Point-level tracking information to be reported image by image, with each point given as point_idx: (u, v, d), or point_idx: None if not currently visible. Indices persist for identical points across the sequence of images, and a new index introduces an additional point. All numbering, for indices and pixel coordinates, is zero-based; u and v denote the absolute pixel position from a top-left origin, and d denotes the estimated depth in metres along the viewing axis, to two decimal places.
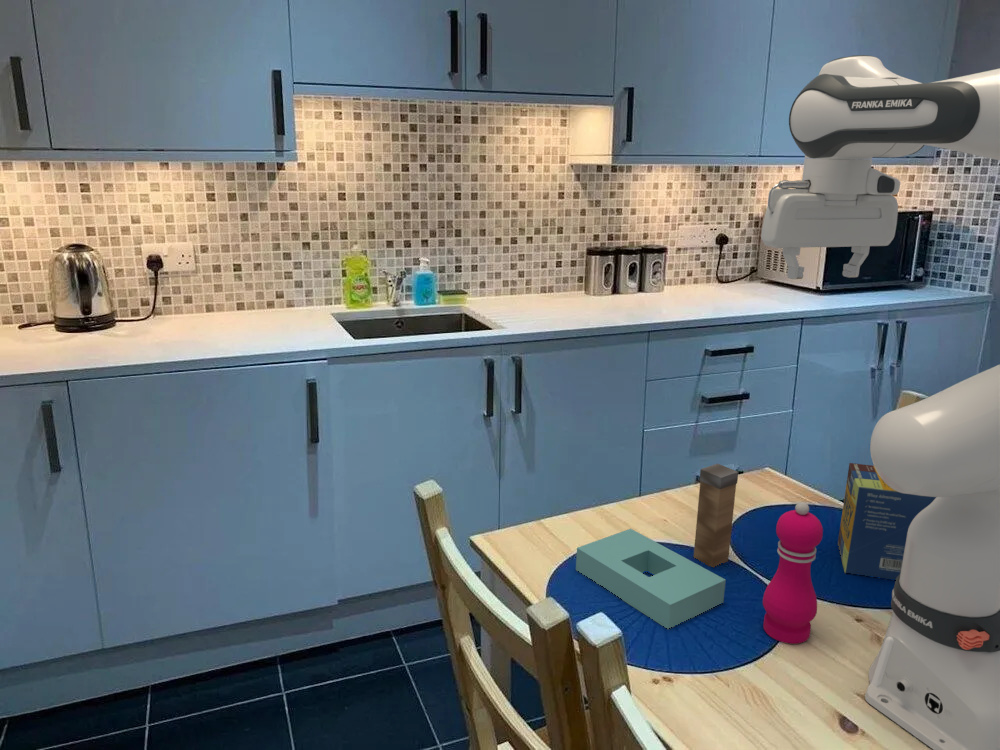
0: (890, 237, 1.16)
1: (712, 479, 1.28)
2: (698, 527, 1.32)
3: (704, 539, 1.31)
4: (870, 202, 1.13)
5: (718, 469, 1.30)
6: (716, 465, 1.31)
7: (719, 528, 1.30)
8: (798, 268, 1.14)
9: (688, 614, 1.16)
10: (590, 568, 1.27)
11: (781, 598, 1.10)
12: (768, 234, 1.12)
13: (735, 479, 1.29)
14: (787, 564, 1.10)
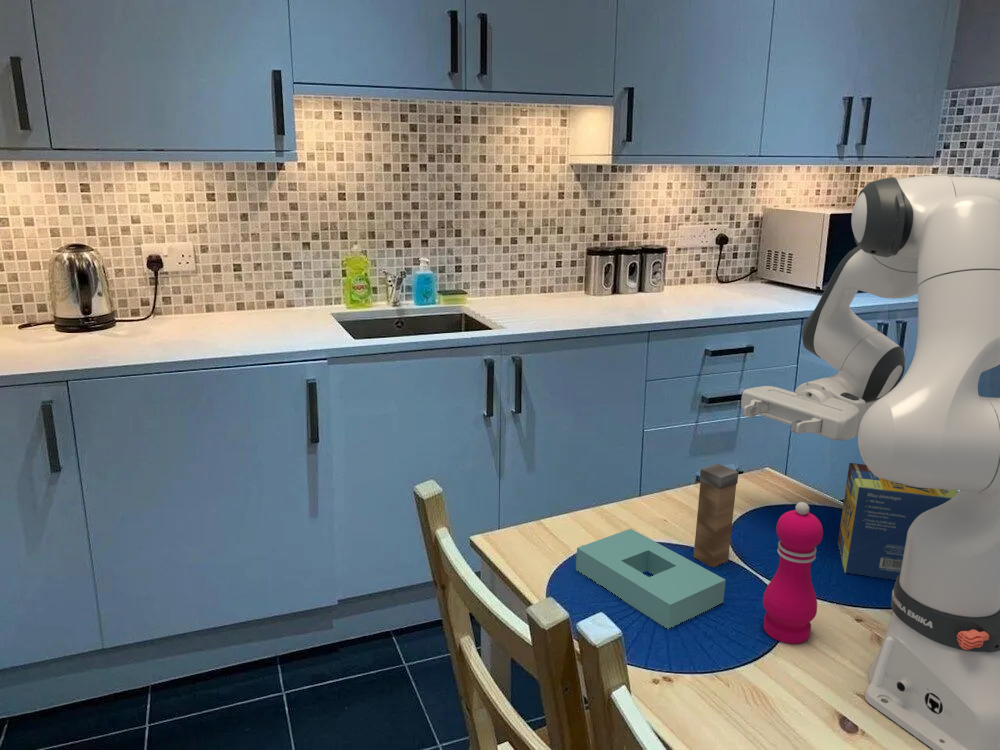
0: (841, 417, 1.30)
1: (712, 479, 1.28)
2: (698, 527, 1.32)
3: (704, 539, 1.31)
4: (833, 401, 1.36)
5: (718, 469, 1.30)
6: (716, 465, 1.31)
7: (719, 528, 1.30)
8: (752, 405, 1.39)
9: (688, 614, 1.16)
10: (590, 568, 1.27)
11: (781, 598, 1.10)
12: None
13: (735, 479, 1.29)
14: (787, 564, 1.10)
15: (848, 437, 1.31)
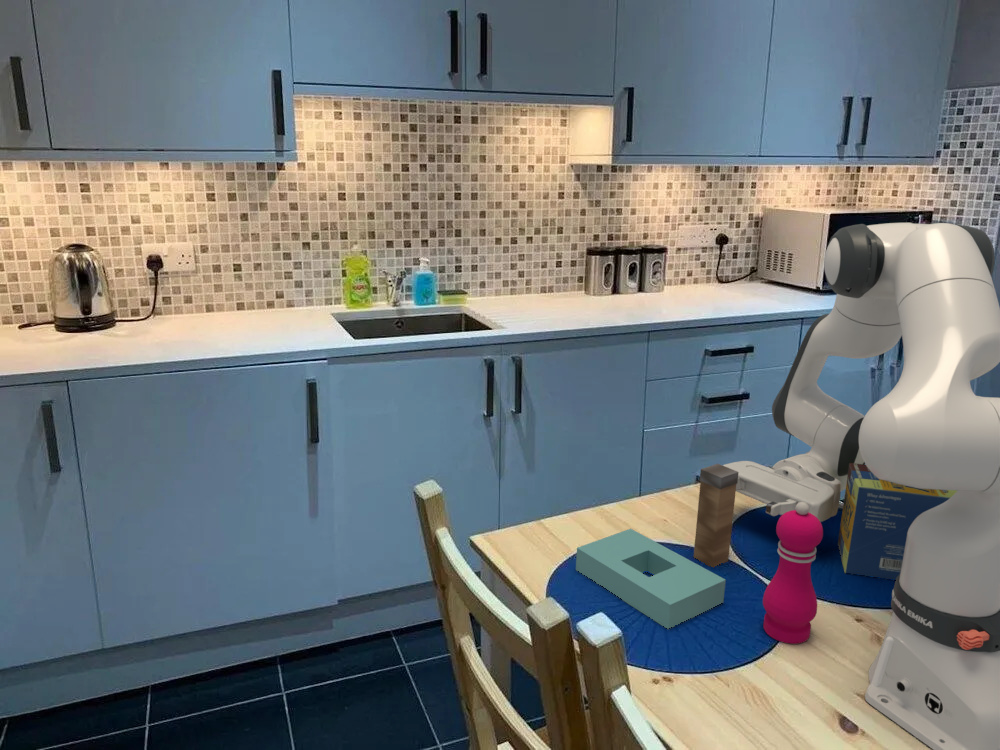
0: (816, 500, 1.31)
1: (712, 479, 1.28)
2: (698, 527, 1.32)
3: (704, 539, 1.31)
4: (809, 481, 1.37)
5: (719, 469, 1.30)
6: (716, 465, 1.31)
7: (719, 528, 1.30)
8: None
9: (688, 614, 1.16)
10: (590, 568, 1.27)
11: (781, 598, 1.10)
12: None
13: (735, 479, 1.29)
14: (787, 564, 1.10)
15: (823, 519, 1.32)
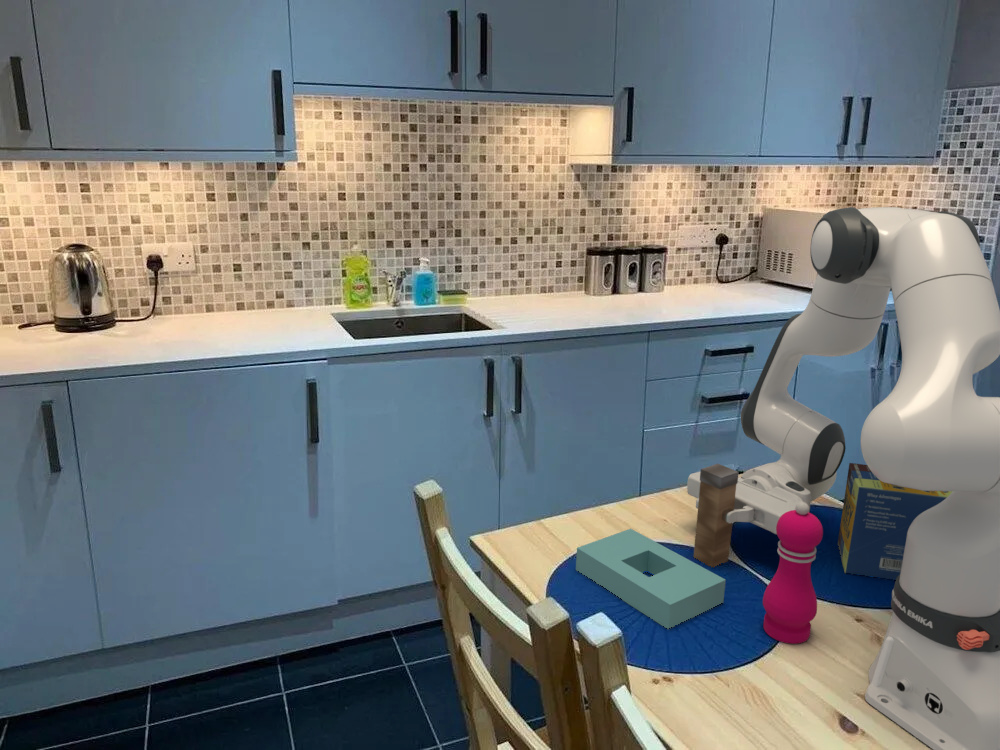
0: (783, 512, 1.26)
1: (712, 479, 1.28)
2: (698, 527, 1.32)
3: (704, 539, 1.31)
4: (778, 491, 1.33)
5: (719, 469, 1.30)
6: (716, 465, 1.31)
7: (719, 528, 1.30)
8: None
9: (688, 614, 1.16)
10: (590, 568, 1.27)
11: (781, 597, 1.10)
12: None
13: (735, 479, 1.29)
14: (787, 564, 1.10)
15: None
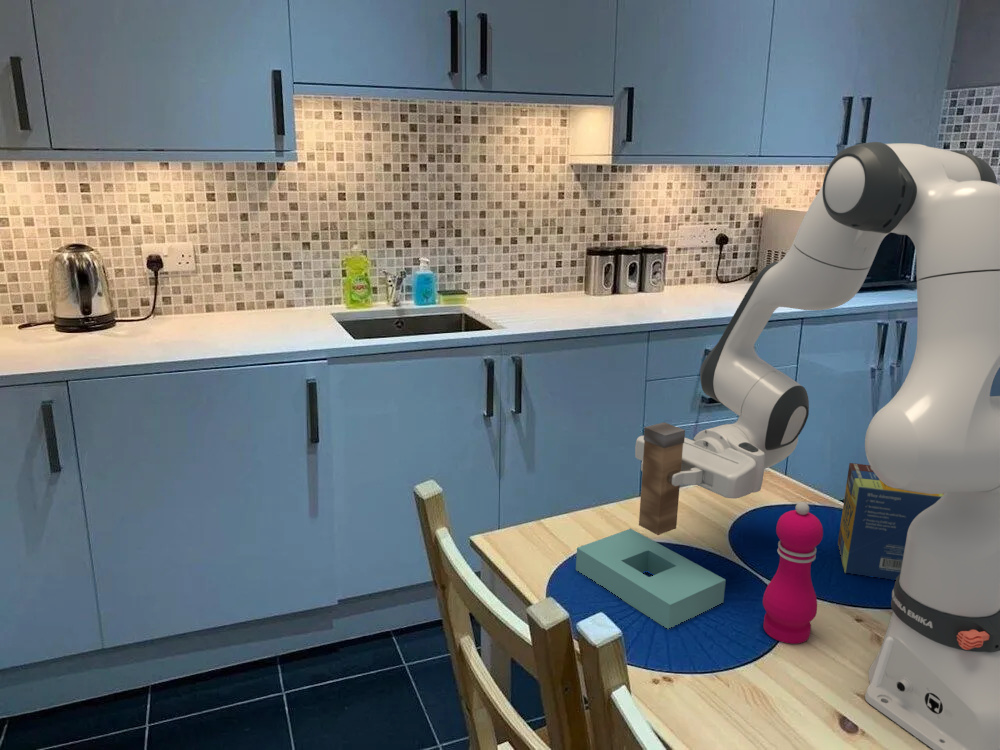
0: (733, 473, 1.16)
1: (656, 438, 1.18)
2: (643, 491, 1.22)
3: (649, 503, 1.21)
4: (730, 452, 1.22)
5: (664, 427, 1.19)
6: (662, 423, 1.21)
7: (665, 492, 1.19)
8: None
9: (688, 614, 1.16)
10: (590, 568, 1.27)
11: (781, 598, 1.10)
12: None
13: (682, 438, 1.18)
14: (787, 564, 1.10)
15: (742, 494, 1.17)
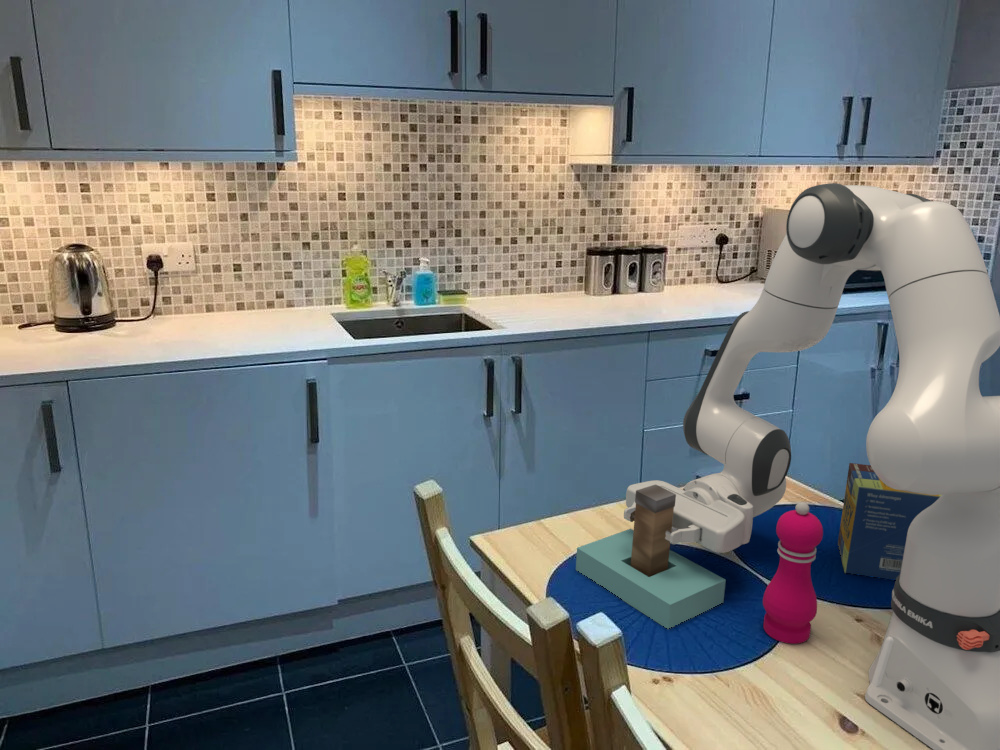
0: (721, 528, 1.18)
1: (647, 502, 1.19)
2: (634, 552, 1.24)
3: (639, 564, 1.23)
4: (719, 504, 1.24)
5: (655, 491, 1.21)
6: (653, 486, 1.23)
7: (655, 554, 1.21)
8: (633, 507, 1.26)
9: (688, 614, 1.16)
10: (590, 568, 1.27)
11: (781, 598, 1.10)
12: None
13: (672, 502, 1.20)
14: (787, 564, 1.10)
15: (730, 548, 1.19)
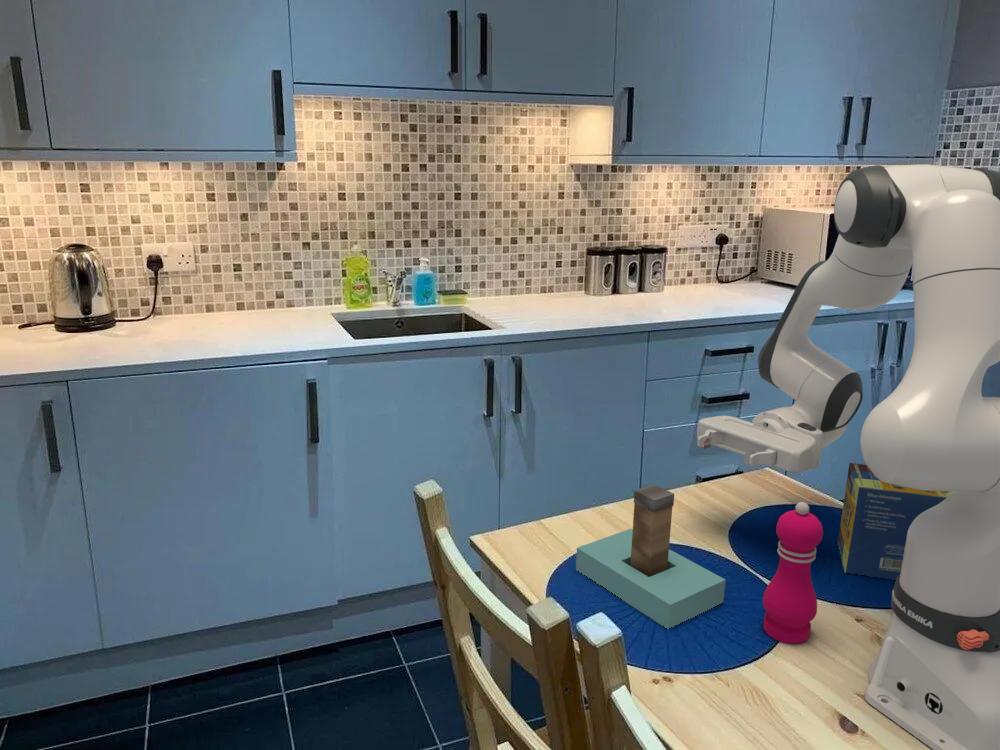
0: (796, 449, 1.25)
1: (646, 502, 1.20)
2: (633, 552, 1.24)
3: (639, 564, 1.23)
4: (789, 431, 1.31)
5: (653, 490, 1.21)
6: (652, 486, 1.23)
7: (654, 554, 1.21)
8: (706, 435, 1.34)
9: (688, 614, 1.16)
10: (590, 568, 1.27)
11: (781, 598, 1.10)
12: None
13: (671, 501, 1.20)
14: (787, 564, 1.10)
15: (804, 469, 1.26)
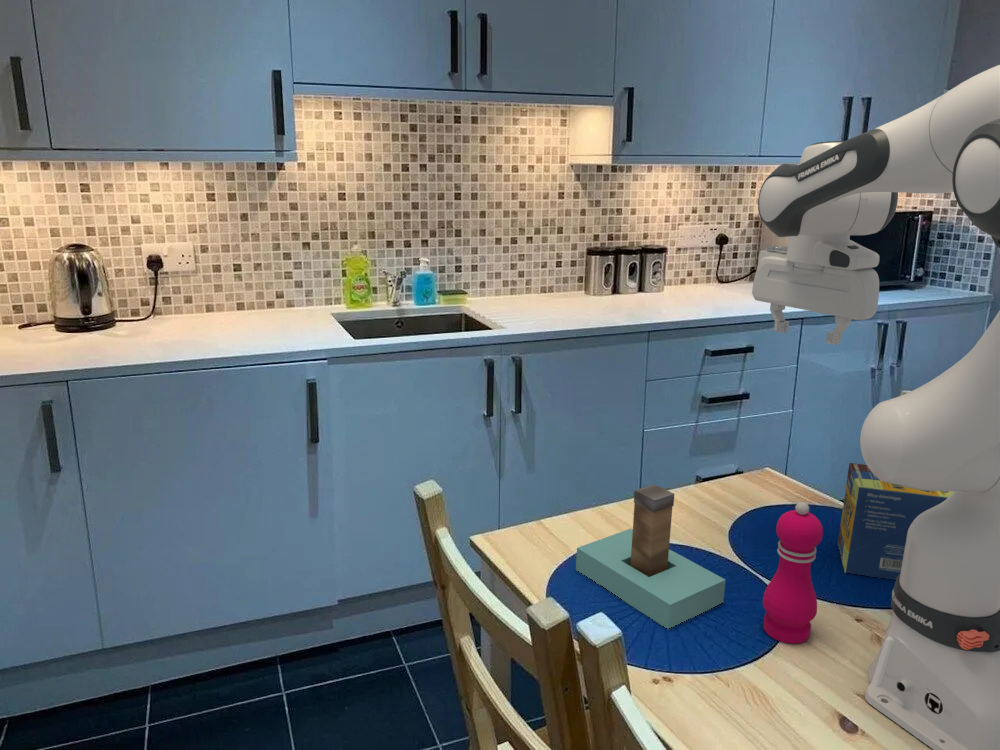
0: (857, 312, 1.18)
1: (646, 502, 1.20)
2: (633, 552, 1.24)
3: (639, 564, 1.23)
4: (831, 274, 1.20)
5: (654, 490, 1.21)
6: (652, 486, 1.23)
7: (654, 554, 1.21)
8: (777, 322, 1.31)
9: (688, 614, 1.16)
10: (590, 568, 1.27)
11: (781, 598, 1.10)
12: None
13: (671, 501, 1.20)
14: (787, 564, 1.10)
15: (877, 300, 1.19)
